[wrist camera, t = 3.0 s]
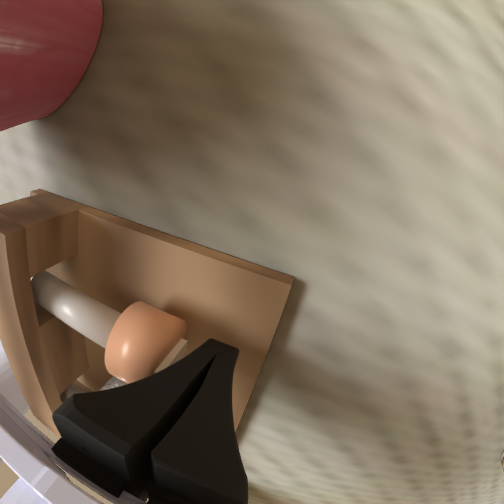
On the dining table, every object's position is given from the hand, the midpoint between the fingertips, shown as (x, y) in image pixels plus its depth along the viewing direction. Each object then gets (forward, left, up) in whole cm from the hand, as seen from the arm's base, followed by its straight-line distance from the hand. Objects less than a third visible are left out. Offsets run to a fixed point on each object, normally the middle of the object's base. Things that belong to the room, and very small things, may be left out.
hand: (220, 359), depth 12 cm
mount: (-6, -5, -2) cm, 8 cm away
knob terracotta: (-6, 0, -1) cm, 6 cm away
